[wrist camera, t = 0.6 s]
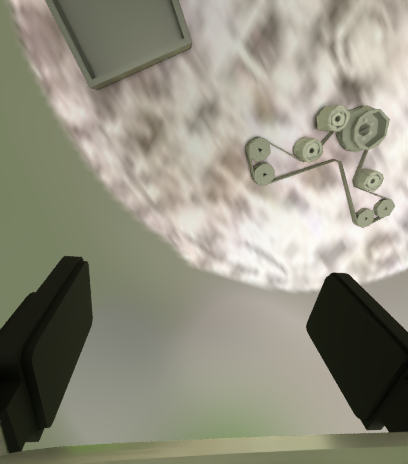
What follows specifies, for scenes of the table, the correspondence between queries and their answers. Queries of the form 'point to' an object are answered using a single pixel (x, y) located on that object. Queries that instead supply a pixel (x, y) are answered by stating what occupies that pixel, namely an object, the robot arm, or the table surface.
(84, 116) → the table surface
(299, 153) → the pulley system
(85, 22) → the parts tray
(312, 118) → the table surface
